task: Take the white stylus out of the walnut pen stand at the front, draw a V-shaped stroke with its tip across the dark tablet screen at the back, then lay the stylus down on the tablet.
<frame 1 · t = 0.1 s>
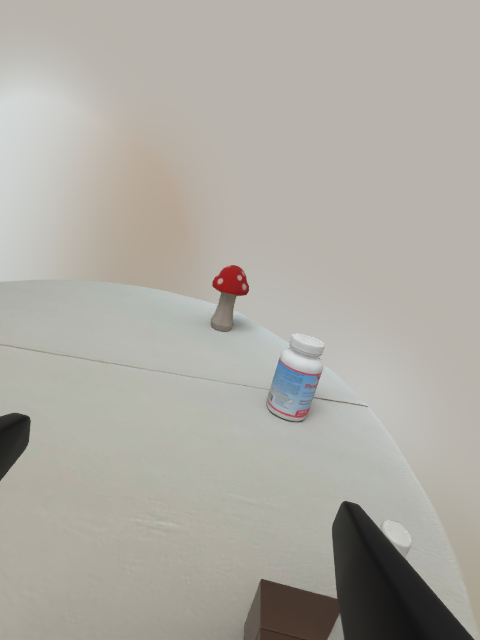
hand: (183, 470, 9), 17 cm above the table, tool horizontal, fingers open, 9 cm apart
decorative mushroom: (220, 327, 77), on the table
stylus: (345, 636, 15), in the pen stand
pill bottle: (285, 411, 47), on the table
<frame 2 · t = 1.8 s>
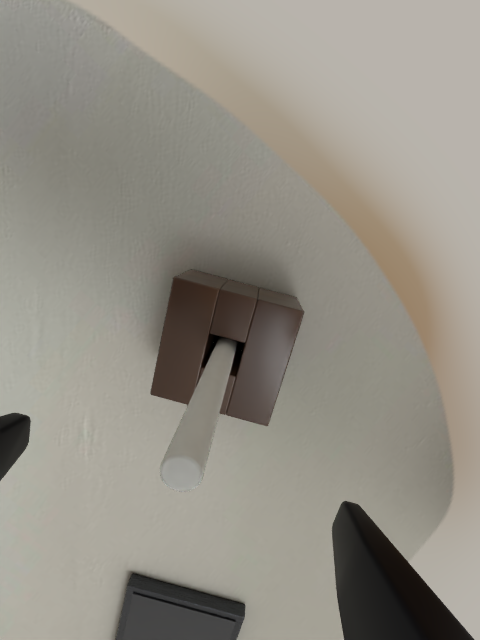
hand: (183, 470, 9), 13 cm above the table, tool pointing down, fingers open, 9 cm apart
tablet: (175, 635, 29), on the table
pen stand: (230, 333, 21), on the table
stylus: (216, 374, 15), in the pen stand
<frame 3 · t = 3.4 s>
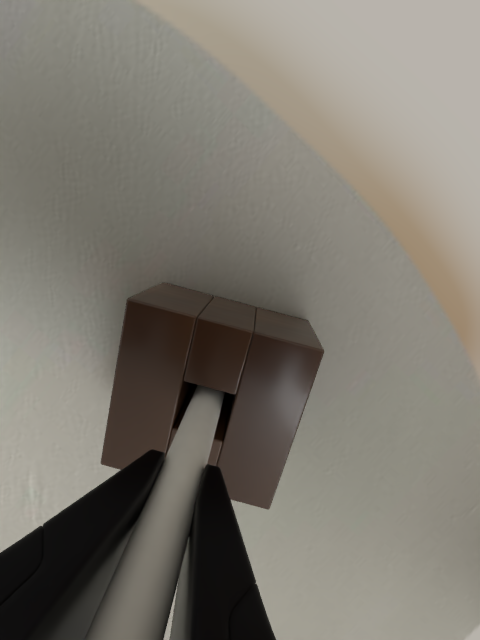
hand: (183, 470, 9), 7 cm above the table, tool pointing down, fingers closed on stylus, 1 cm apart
pen stand: (218, 368, 16), on the table
stylus: (187, 457, 9), in the pen stand, touching gripper
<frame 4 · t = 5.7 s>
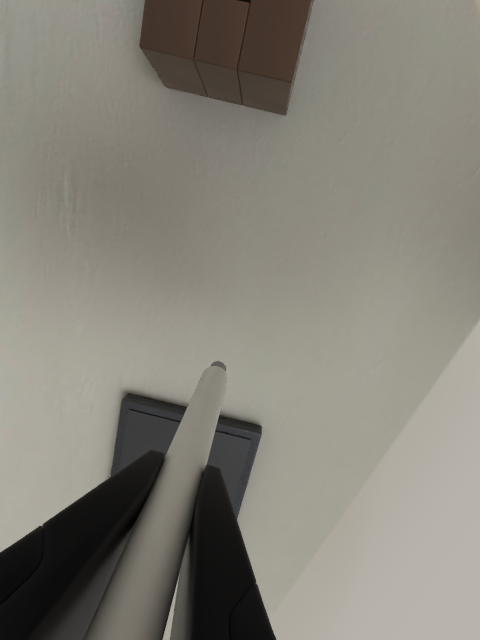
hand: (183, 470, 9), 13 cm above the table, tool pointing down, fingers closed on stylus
tablet: (179, 476, 25), on the table
pen stand: (239, 28, 17), on the table
stylus: (187, 457, 9), point 12 cm above the table, touching gripper
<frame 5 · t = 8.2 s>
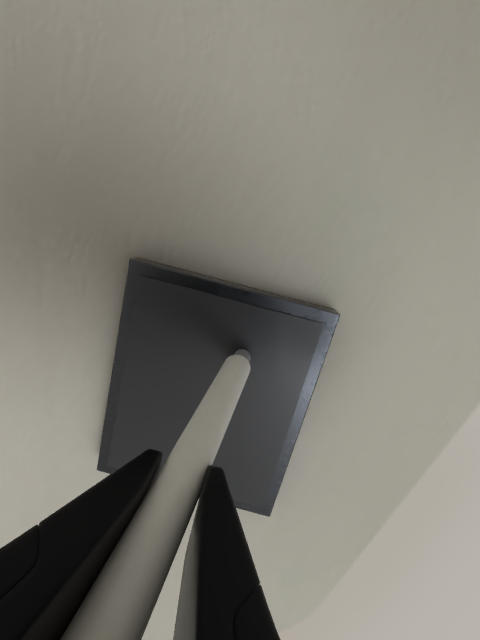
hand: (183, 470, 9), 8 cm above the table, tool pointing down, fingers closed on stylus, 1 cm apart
tablet: (209, 391, 17), on the table
stylus: (194, 453, 9), point 8 cm above the table, tilted 10°, touching gripper
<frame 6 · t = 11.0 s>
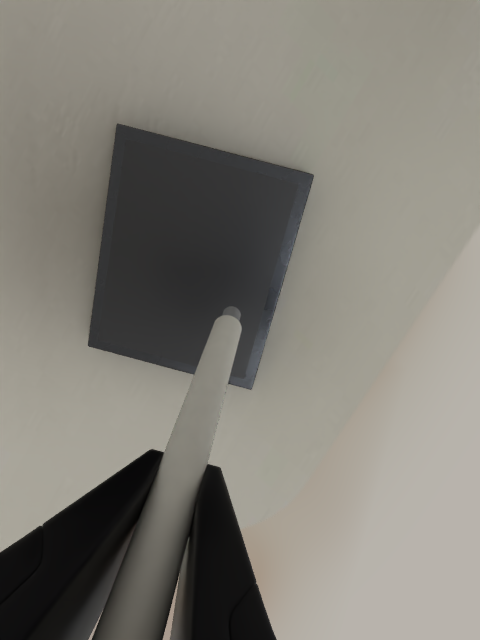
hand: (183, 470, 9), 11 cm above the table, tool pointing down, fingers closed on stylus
tablet: (194, 266, 18), on the table
stylus: (193, 435, 9), point 10 cm above the table, tilted 20°, touching gripper
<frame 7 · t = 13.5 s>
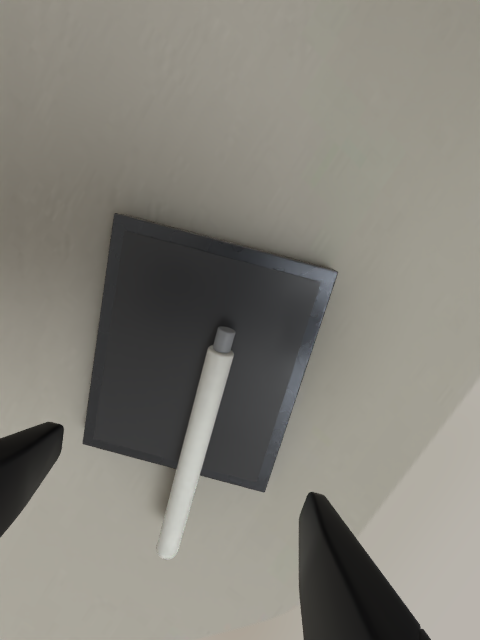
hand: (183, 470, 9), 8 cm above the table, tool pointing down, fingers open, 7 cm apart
tablet: (200, 359, 16), on the table
stylus: (193, 451, 16), on the tablet, point 1 cm above the table, tilted 90°
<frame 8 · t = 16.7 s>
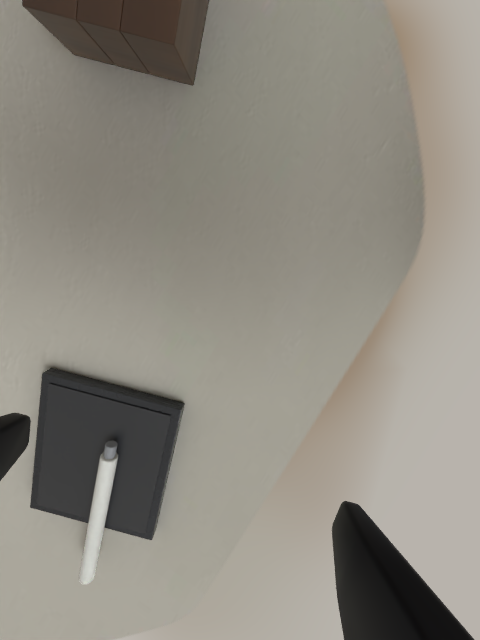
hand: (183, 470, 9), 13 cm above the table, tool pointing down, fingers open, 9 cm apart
tablet: (106, 453, 25), on the table
stylus: (98, 515, 24), on the tablet, point 1 cm above the table, tilted 90°
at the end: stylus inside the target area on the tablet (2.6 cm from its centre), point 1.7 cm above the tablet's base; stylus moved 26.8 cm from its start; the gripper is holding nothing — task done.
